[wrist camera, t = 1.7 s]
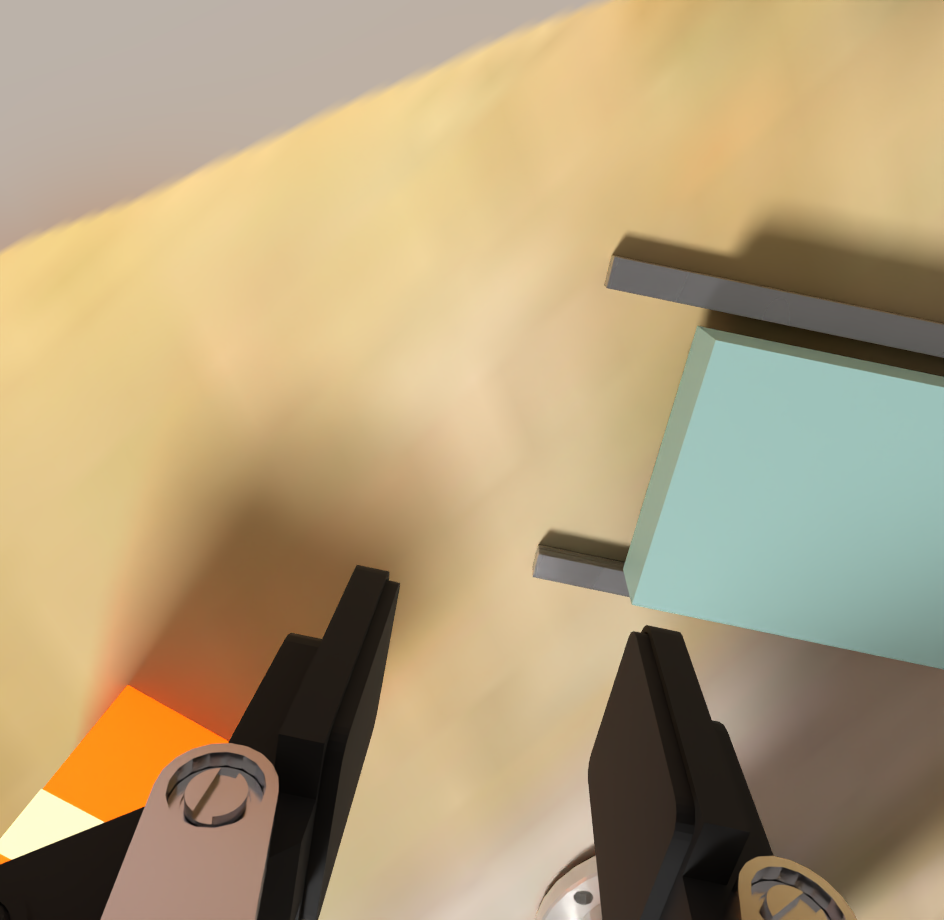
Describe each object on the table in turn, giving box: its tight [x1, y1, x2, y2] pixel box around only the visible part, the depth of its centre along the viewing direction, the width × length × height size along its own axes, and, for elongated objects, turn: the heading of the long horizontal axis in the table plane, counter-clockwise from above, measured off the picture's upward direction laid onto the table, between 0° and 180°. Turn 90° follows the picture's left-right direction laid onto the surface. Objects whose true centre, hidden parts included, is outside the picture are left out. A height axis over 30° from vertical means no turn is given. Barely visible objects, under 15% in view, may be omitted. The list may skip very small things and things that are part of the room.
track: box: [533, 255, 944, 597], centre depth 25 cm, size 12×26×3 cm, turn 79°
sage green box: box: [623, 326, 944, 669], centre depth 24 cm, size 9×11×4 cm
